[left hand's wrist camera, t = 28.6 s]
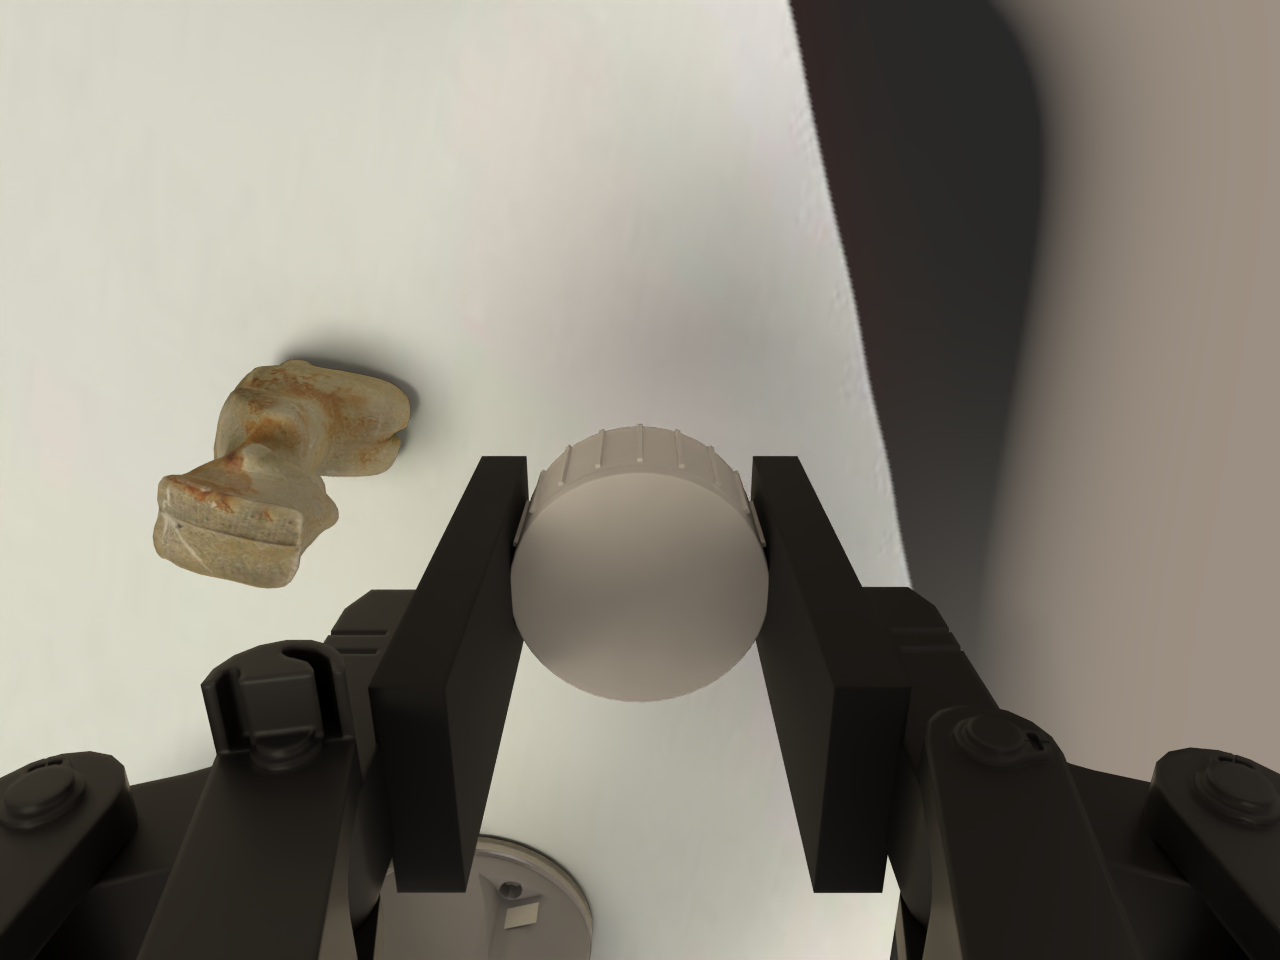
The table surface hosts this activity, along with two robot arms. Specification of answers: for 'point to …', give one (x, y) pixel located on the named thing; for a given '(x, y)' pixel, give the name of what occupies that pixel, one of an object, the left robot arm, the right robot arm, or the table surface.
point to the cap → (639, 566)
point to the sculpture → (277, 471)
